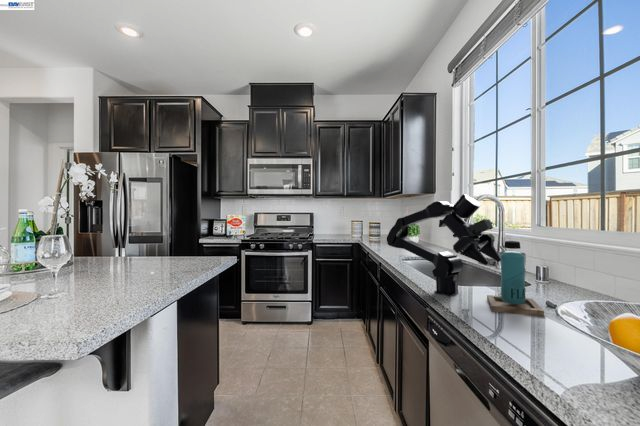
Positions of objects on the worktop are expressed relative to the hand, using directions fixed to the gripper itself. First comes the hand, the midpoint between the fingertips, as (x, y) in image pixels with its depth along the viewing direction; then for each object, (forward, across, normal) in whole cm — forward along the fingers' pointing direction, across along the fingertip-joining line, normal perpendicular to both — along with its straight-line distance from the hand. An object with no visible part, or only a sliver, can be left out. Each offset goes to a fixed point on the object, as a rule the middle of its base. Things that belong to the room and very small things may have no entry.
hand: (493, 262), depth 92 cm
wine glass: (+10, +14, +9) cm, 19 cm away
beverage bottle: (+13, 0, +6) cm, 14 cm away
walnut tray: (+13, 0, +6) cm, 14 cm away
